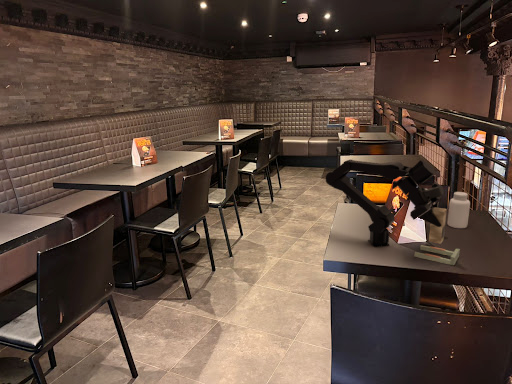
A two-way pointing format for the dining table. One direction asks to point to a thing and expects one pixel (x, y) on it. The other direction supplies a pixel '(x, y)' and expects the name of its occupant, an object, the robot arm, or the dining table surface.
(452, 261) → the sage rail
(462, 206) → the pill bottle
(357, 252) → the dining table surface
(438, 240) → the birch finger
